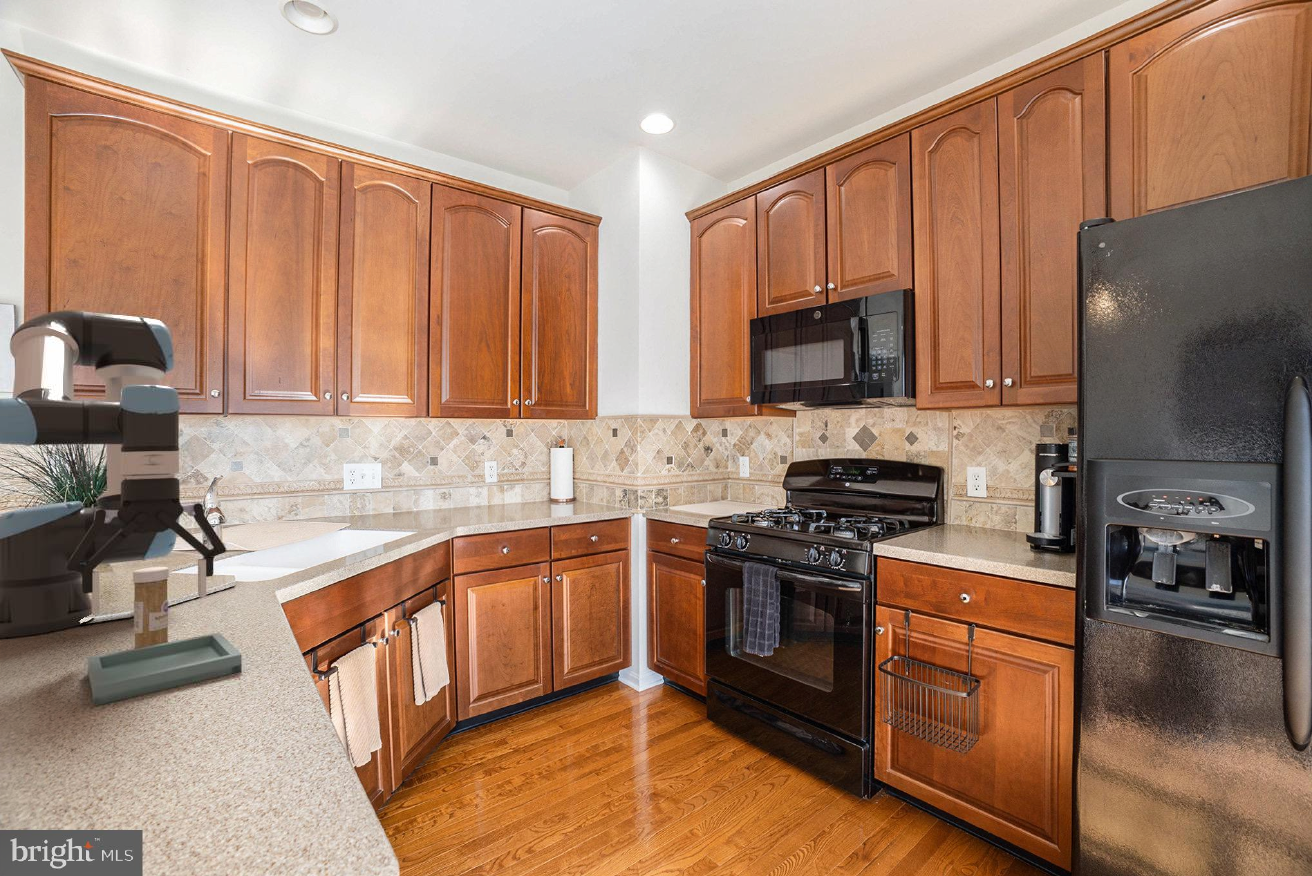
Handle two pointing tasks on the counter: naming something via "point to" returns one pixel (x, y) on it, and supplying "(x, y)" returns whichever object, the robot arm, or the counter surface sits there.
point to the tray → (161, 667)
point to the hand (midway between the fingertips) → (151, 604)
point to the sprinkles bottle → (150, 606)
